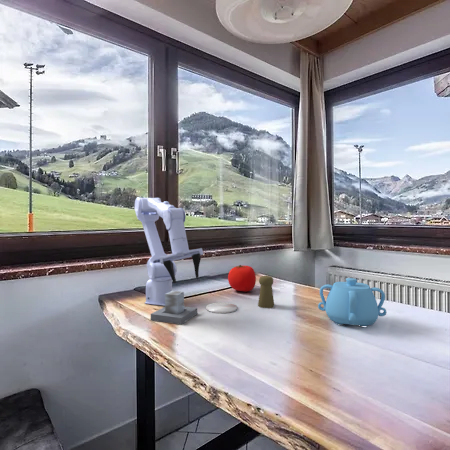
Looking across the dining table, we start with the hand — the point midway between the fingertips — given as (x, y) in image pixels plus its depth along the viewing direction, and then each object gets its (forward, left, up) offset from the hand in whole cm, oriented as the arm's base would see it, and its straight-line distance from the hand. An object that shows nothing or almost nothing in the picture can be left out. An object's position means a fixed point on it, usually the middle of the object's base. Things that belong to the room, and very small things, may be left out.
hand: (186, 280), depth 105 cm
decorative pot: (+51, +14, -12) cm, 54 cm away
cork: (+22, +21, -12) cm, 33 cm away
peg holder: (-3, -2, -12) cm, 13 cm away
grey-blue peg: (-3, -2, -12) cm, 13 cm away
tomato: (+7, +39, -12) cm, 42 cm away
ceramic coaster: (+8, +12, -12) cm, 19 cm away
